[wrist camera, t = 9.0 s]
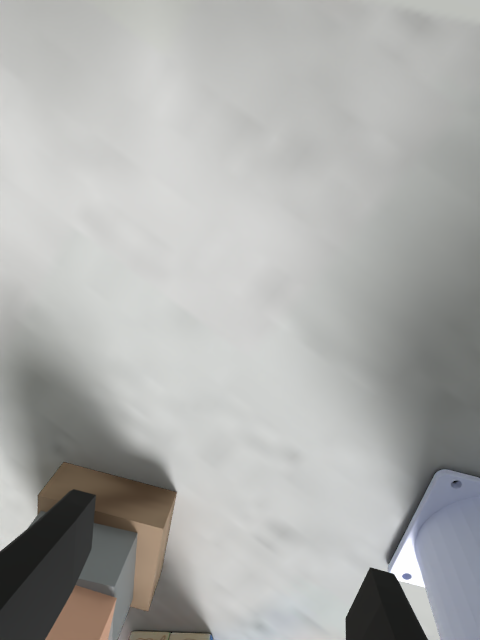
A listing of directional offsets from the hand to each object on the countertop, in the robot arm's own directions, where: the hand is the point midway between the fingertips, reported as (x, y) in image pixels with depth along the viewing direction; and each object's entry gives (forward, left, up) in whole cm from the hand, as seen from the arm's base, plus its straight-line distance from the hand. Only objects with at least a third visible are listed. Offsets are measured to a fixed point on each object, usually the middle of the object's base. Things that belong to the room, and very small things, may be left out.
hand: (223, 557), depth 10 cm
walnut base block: (+6, +13, -11) cm, 18 cm away
